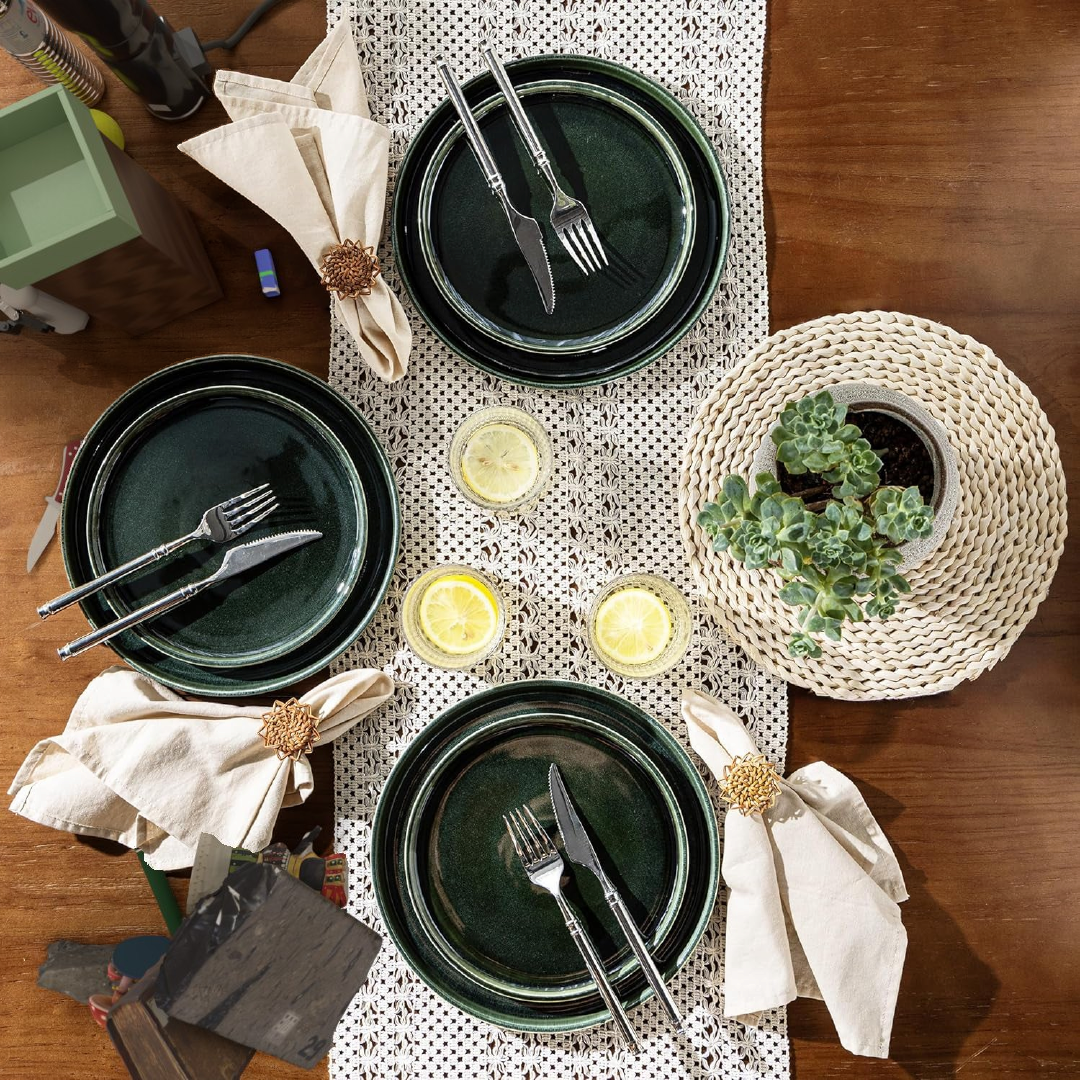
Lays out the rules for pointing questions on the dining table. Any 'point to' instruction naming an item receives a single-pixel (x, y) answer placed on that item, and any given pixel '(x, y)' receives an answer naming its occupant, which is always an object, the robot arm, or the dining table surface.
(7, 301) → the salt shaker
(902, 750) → the dining table surface
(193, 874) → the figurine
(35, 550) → the knife
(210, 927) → the stone slab
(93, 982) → the stone
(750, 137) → the dining table surface
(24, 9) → the water bottle
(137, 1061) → the book
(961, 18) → the dining table surface
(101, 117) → the ornament
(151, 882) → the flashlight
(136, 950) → the figurine
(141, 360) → the dining table surface
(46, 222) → the open bin
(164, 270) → the bin stand
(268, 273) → the eraser
